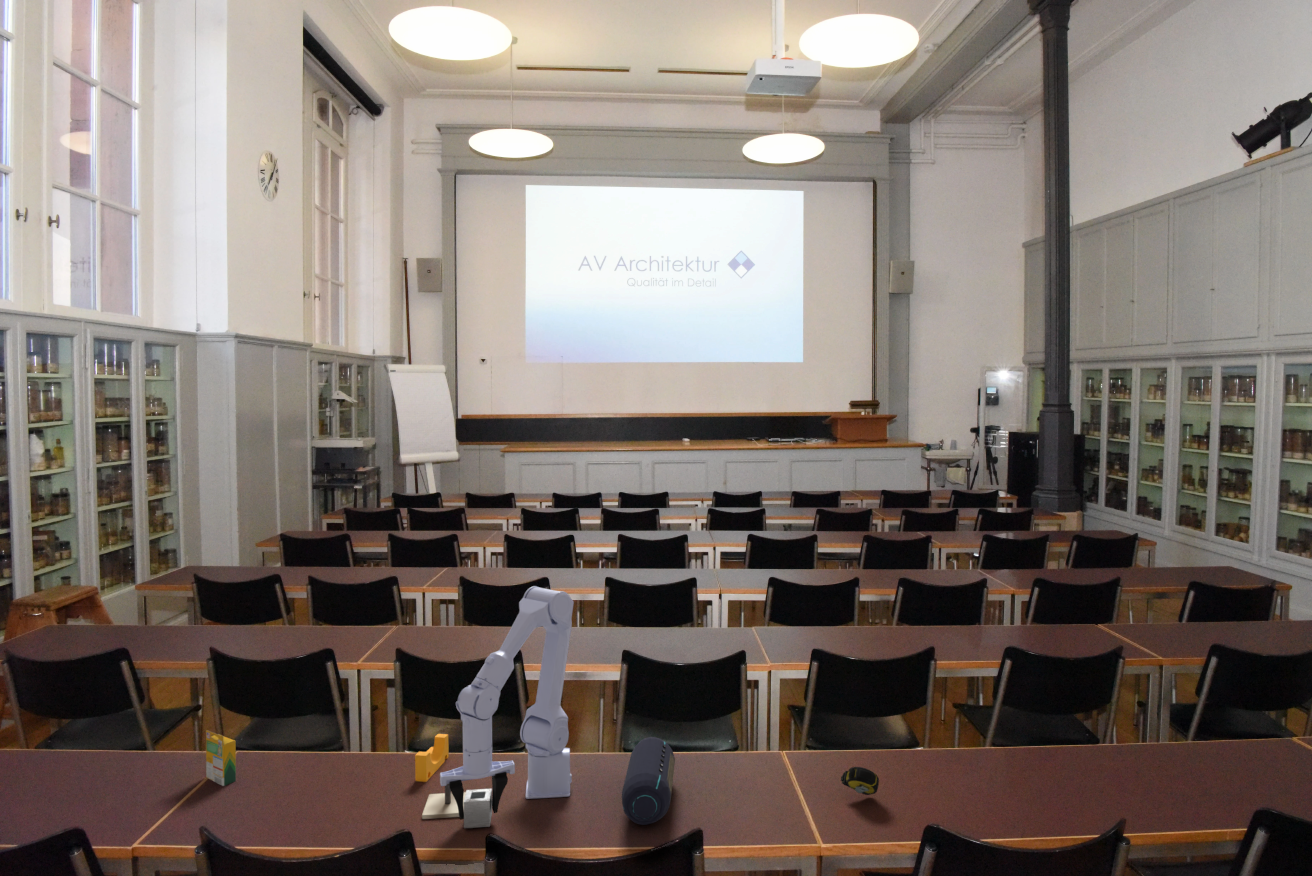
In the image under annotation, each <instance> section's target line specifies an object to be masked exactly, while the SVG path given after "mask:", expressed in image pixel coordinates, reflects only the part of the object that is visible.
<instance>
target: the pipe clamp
mask: <svg viewBox="0 0 1312 876" xmlns="http://www.w3.org/2000/svg"><path fill="white" fill-rule="evenodd" d="M433 741H434V743H433V746H431V747H429V749H427V750H426V751H418V752H417V753H416V754H415V755H414V763H415V765H414V767H415V768H414V769H415V770H414V771H415V774H414V775H415V778H414V779H415V780H414V781H415V782H420V783H422V782H423V783H426V782H427V783H428V781H429V779H431V777H432V776H433V775H434V774H435V773H436V772H437V771H438V770H439V769H440V768H441V766H442V765H444V763H445V762H446V760H448V759H449V756H450V754H449V750H450V749H449V745H450V744H449V734H447V733H446V734H445V733H438V734H436V735H435V736H434V740H433Z"/></svg>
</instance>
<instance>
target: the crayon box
mask: <svg viewBox="0 0 1312 876" xmlns="http://www.w3.org/2000/svg"><path fill="white" fill-rule="evenodd" d="M205 737H206V738H205V758H206V759H205V760H206V761H205V766H206V767H205V772H206V773H205V775H206V776H205V778H206V779H209V780H210V781H213V782H214V783H216V784H218V785H220V786H222V787H225V786H228V785H230V784H232V783H234V782H236V781H237V778H236V777H237V771H236V770H237V766H236V765H237V764H236V763H237V762H236V759H237V753H236V750H237V749H236V746H237V745H236V740H235V739H231V738H230V737H226V736H224V735H222V734H219V733H216V732H214V731H210V730H207V729H205Z"/></svg>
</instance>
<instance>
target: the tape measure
mask: <svg viewBox="0 0 1312 876" xmlns="http://www.w3.org/2000/svg"><path fill="white" fill-rule="evenodd" d="M840 781H841V784H842V785H844V786H846V787H847V788H849V789H851V790H853V791H856V793H859V794H862V795H865V796H871V795H874V794H876V793H877V792H878V789H879V783H880V779H879V776H878V775H877V774H876V773H875V772H874V771H872V770H871V769H868V768H865V767H861V766H853V767H850V768H849V769H848V770H845V771H843V773H842V775H841V778H840Z"/></svg>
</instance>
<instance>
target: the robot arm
mask: <svg viewBox="0 0 1312 876" xmlns="http://www.w3.org/2000/svg"><path fill="white" fill-rule="evenodd" d="M574 603H575V601H574V600H573V599H572V598H571V596H570V595H569V594H568V592H566V591H563V590H560V591H559V590H555V589H549V588H544V587H539V586H537V585H533V586H531V587H529V588H527V590H526V591H525V592H524V594H523V596H522V598H521V599H520V601H519V602H518V609H519V611H518V614H517V615H516V618H515V620H514V621H513V623H512V625H511V628H510V629H509V631H508V633H507V635H506V636H505V639H504V640H503V642H502V644H501V646H500V647H499V649H498V650H497V651H494V652H491V653H489V655H488V656H487V657H486V658H485V660H484V664H483V665H482V667H481V668H480V670H479V671H478V672H477V674H476V676H475V678H474V679H473V681H472V682H471V684H469V685H467V686H466V687H464V688H462V689H461V691H459V694H458V697H457V701H456V702H455V706H456V707H455V708H456V709H457V711H458V712H459V714H460V721H461V722H462V766H459V767H457V768H452V769H451V770H447V771H443V772H442V771H441V772H439V784H440V787H445V786H446V785H447V784H449V787H450V790H451V793H452V794H453V796H454V798H455V800H456V803H457V806H458V811H459V817H458V818H459V819H460V820H464V808H463V794H464V792H465V790H464V786H463V782H466V781H470V780H471V781H472V780H479V779H484V778H487V777H488V778H489V777H491V785H492V786H491V787H492V788H491V789H492V813H493V814H497V813H498V810H499V806H500V801H501V798H502V795H503V793H504V790H505V788H506V786H507V785H508V782H509V781H508V779H509V778H508V776H507V774H509V775H514V774H515V773H516V765H515V762H514V760H507V761H506V760H503V761H498V760H497V761H493V715H494V714H495V713H496V711H497V710H498V707H499V703H500V702H499V701H500V697H501V690H502V689H503V687H504V686H505V684H506V683H507V680H508V679H509V677H510V676H511V674H512V672H513V671H514V669H515V664H514V658H515V657H516V655H518V652H519V651H520V650H521V648H523V647H522V646H523V645H524V644H525V642H526V641H527V640H528V639H529V637H531V634H532V633H533V632H534V630H535V629H537V628H542V627H543V629H544V630H545V637H544V644H543V651H542V656H541V657H542V658H541V663H540V671H539V677H538V685H537V691H536V697H535V703H534V704H532V705H531V706H530V707H528V708H527V709H526V711H525V717H524V718H523V719H524V720H523V722H522V723H521V726H520V730H519V736H520V740H521V741H522V743H524V744H525V749H526V750H527V780H526V787H525V788H526V789H525V799H526V800H528V799H531V800H533V799H535V800H536V799H548V798H563V797H570V796H571V783H572V782H573V781H572V780H573V779H572V777H573V776H572V773H571V748H570V747H566V746H567V744H568V742H569V737H570V736H569V735H570V733H569V725H568V722H569V717H568V715H567V713H566V712H565V710H564V709H563V708H562V706H561V703H562V702H561V701H562V696H563V689H564V681H565V675H566V669H567V661H568V653H569V647H570V646H569V645H570V640H571V634H572V633H571V632H572V626H573V623H572V622H573V621H572V617H573V610H574Z"/></svg>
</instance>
